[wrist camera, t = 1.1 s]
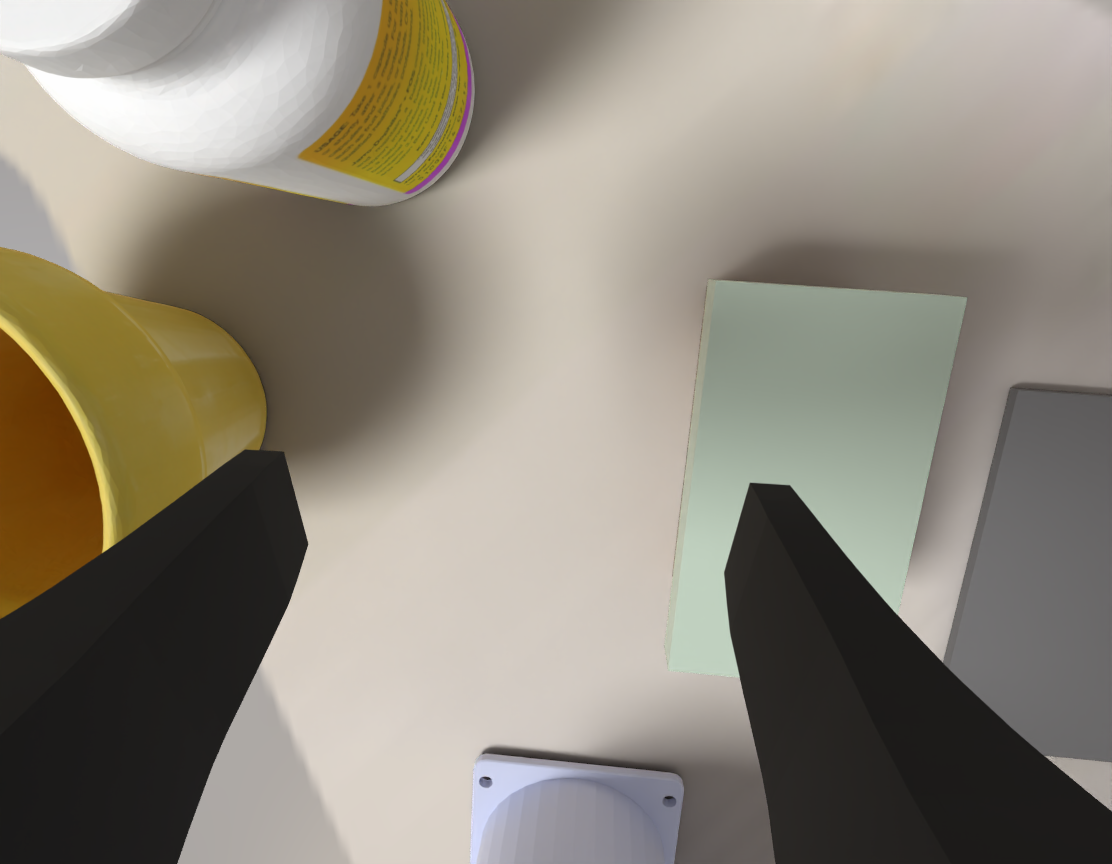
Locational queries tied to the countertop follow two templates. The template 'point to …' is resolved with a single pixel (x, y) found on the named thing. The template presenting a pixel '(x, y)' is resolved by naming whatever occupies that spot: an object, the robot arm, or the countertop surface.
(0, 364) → the plant pot
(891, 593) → the lid
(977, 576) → the mat
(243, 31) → the supplement bottle
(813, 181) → the countertop surface
